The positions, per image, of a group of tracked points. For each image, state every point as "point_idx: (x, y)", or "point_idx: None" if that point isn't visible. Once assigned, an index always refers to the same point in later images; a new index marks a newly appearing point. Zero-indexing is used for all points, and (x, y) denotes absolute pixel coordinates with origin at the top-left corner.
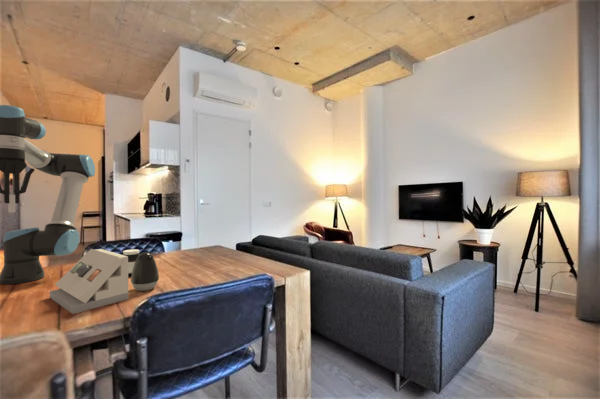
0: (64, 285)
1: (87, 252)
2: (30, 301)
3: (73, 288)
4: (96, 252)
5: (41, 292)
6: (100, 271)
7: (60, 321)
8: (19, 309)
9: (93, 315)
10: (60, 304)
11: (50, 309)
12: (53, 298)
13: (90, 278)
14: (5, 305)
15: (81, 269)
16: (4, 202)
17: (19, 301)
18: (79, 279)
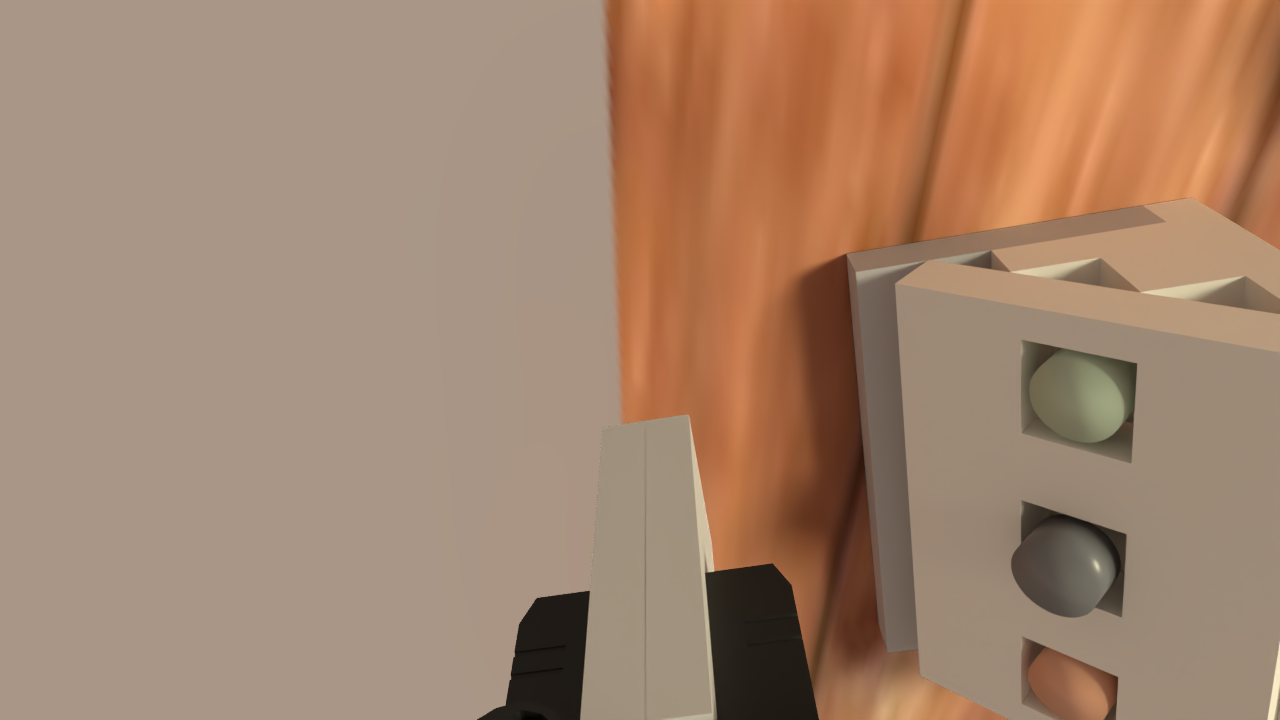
0: (929, 433)
1: (1263, 353)
2: (740, 253)
3: (945, 566)
4: (1274, 521)
5: (824, 48)
6: (1112, 706)
7: (817, 674)
8: (681, 381)
9: (941, 692)
10: (865, 460)
11: (811, 490)
12: (855, 338)
13: (1037, 679)
14: (614, 238)
15: (1047, 594)
16: (528, 620)
17: (684, 202)
18: (1004, 561)
